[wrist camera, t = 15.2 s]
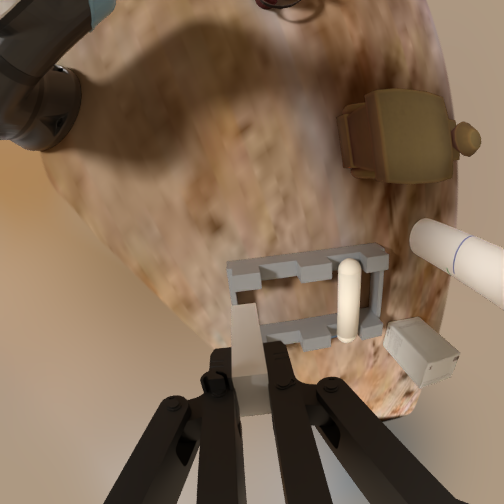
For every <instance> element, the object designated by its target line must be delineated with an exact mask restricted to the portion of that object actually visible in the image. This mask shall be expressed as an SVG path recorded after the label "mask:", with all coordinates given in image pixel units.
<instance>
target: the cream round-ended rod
mask: <svg viewBox="0 0 504 504" xmlns="http://www.w3.org/2000/svg"><path fill="white" fill-rule="evenodd" d="M360 292H361V266H360V264H359V262H358V261H357V260H355V259H352V258H347V259H345V260H343V261H342V262H341V263H340V265H339V267H338V311H337V337H338V339H339V340H340V341H341V342H343V343H350V342H352V341H354V340H355V339H356V337H357V334H358V323H359V309H360Z"/></svg>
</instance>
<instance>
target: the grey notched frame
mask: <svg viewBox="0 0 504 504" xmlns="http://www.w3.org/2000/svg"><path fill="white" fill-rule="evenodd" d="M347 258H352V259H355V260H357V261H358V262H359V264H360V266H361V269H362V270H364V271H365V272H366V273H371V279H370V296H369V307H366V308H361V309H359V323H358V335H359V337H360V338H361V340H365V339H369V338H374V337H378V336H382V329H383V323H382V322H381V321H380V312H381V302H382V291H383V277H384V270H388V266H389V254H388V253H386V252H385V248H383V247H382V246H380V245H379V244H377V243H370V244H363V245H355V246H347V247H339V248H332V249H324V250H316V251H308V252H300V253H292V254H285V255H277V256H269V257H261V258H252V259H244V260H236V261H228V262H227V276H228V283H229V289H230V296H231V302H232V306H233V305H238V299H237V292H239V291H248V290H256V289H262V286H261V281H262V280H270V279H277V278H285V277H292V276H297V277H298V278H299V280H300V282H301V283H307V282H314V281H321V280H327V279H332V271H335V270H338V267H339V265H340V263H341V262H342V261H343V260H345V259H347ZM260 331H261V337H262V343H266V342H273V341H282V342H283V343H284V344H291V343H297V342H300V344H301V346H302V349H303V352H306V351H312V350H317V349H322V348H328V347H331V338H335V337H337V313H335V314H329V315H324V316H318V317H312V318H306V319H299V320H293V321H286V322H279V323H272V324H265V325H260Z"/></svg>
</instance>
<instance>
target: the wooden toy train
mask: <svg viewBox="0 0 504 504" xmlns="http://www.w3.org/2000/svg"><path fill="white" fill-rule="evenodd" d="M364 97H365V102H364V103H355V104H350V105H347V106H346V107H345V108H344V109H343V112H342V113H343V115H341V116H339V117H336V118H337V124H338V131H339V138H340V145H341V153H342V161H343V168H351V174H352V175H353V176H354V177H355V178H371V179H376V181H381V182H387V183H399V184H420V183H434V182H440V181H444V180H447V179H451V178H452V176H453V161H454V160H459V156H460V153H461V154H462V155H464V156H468V157H470V156H471V155H473V154H474V153H475V152H476V151H477V150H478V148H479V147H480V144H481V137H480V134H479V132H478V131H477V130H476V129H475V128H473V127H472V126H471V125H470V124H469V123H466V122H461V123H459V124H458V125H457V126H456V122H455V120H450V119H449V118H448V114H447V110H446V107H445V103H444V99H443V97H441V96H438V95H435V94H432V93H429V92H425V91H417V90H409V89H399V88H394V89H382V90H375V91H372V92H370V93H368V94H366V95H364Z"/></svg>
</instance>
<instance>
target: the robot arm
mask: <svg viewBox="0 0 504 504" xmlns="http://www.w3.org/2000/svg"><path fill="white" fill-rule="evenodd" d="M115 5H116V0H0V140H11V141H12V142H14V143H16V144H17V145H19V146H21V147H22V148H24V149H27V150H32V151H41V150H46V149H49V148H51V147H53V146H55V145H56V144H57V143H59V142H60V141H61V140H62V139H63V138H64V137H65V136H66V134H67V133H68V132H69V130H70V129H71V127H72V125H73V124H74V122H75V119H76V117H77V114H78V111H79V108H80V103H81V87H80V82H79V80H78V78H77V76H76V75H75V73H74V72H72V71H71V70H70V69H68V68H65V67H63V66H61V65H55V64H56V63H57V62H58V60H59V59H60V58H61V57H62V56H63V55H64V54H65V53H67V52H68V51H69V50H70V49H71V48H72V47H73V46H74V45H75V44H76V43H77V42H78V41H79V40H80V39H82V38H83V37H84V36H85V35H86V34H87V33H88V32H92V31H93V30H94V28H95V27H96V26H97V25H98V24H99V23H100V22H101V21H102V20H104V19H105V18H106V17H107V16H108V15H110V14H111V12H112V11H113V10H114V8H115ZM200 381H201V385H202V388H203V391H204V394H202V395H201V396H199V397H197V398H194V399H190V400H186V399H185V398H184V397H182V396H170V397H167V398H166V399H164V400H163V401H162V402H161V403H160V405H159V407H158V409H157V411H156V412H155V414H154V416H153V417H152V419H151V421H150V423H149V424H148V426H147V428H146V430H145V431H144V433H143V435H142V437H141V438H140V440H139V442H138V444H137V445H136V447H135V449H134V451H133V452H132V454H131V456H130V458H129V459H128V461H127V463H126V465H125V466H124V468H123V470H122V472H121V474H120V475H119V477H118V479H117V481H116V482H115V484H114V486H113V488H112V489H111V491H110V493H109V495H108V496H107V498H106V500H105V502H104V503H103V504H177V501H178V499H179V496H180V494H181V491H182V488H183V486H184V484H185V481H186V479H187V476H188V474H189V471H190V469H191V466H192V464H193V461H194V459H195V456H196V453H197V451H198V448H199V446H200V452H199V467H198V484H197V504H247V500H246V488H245V487H246V486H245V473H244V457H243V441H242V426H241V421H240V417H244V416H253V415H262V414H270V413H271V414H272V422H273V430H274V435H275V441H276V447H277V453H278V460H279V466H280V472H281V478H282V484H283V491H284V496H285V503H286V504H333V503H332V499H331V495H330V492H329V488H328V485H327V481H326V477H325V474H324V470H323V467H322V463H321V459H320V456H319V452H318V449H317V446H316V442H315V438H314V435H313V431H312V428H311V425H315V427H316V429H317V430H318V432H319V433H320V434H321V436H322V437H323V439H324V440H325V442H326V443H327V445H328V446H329V447H330V449H331V450H332V451H333V453H334V455H335V456H336V457H337V459H338V460H339V462H340V463H341V464H342V466H343V467H344V469H345V470H346V471H347V473H348V474H349V476H350V477H351V478H352V480H353V481H354V482H355V484H356V485H357V487H358V488H359V489H360V491H361V492H362V493H363V495H364V496H365V497H366V499H367V500H368V501H369V503H370V504H468V503H465V502H463V501H460V500H458V499H455V498H454V497H453V495H452V494H451V493H450V492H448V490H447V489H446V488H445V487H444V486H443V485H442V484H441V483H440V482H439V481H438V480H437V479H436V478H435V477H434V476H433V475H432V474H431V473H430V472H429V471H428V470H427V469H426V468H425V467H424V466H423V465H422V464H421V463H420V462H419V461H418V460H417V458H416V457H415V456H414V455H413V454H412V453H411V452H410V451H409V450H408V449H407V448H406V447H405V446H404V445H403V444H402V443H401V442H400V441H399V440H398V438H397V437H395V435H394V434H393V433H392V432H391V431H390V430H389V429H388V428H387V427H386V426H385V425H384V424H383V423H382V421H381V420H380V419H379V418H378V417H377V416H376V415H375V414H374V413H373V412H372V411H371V410H370V409H369V407H368V406H367V405H366V404H365V403H364V402H363V401H362V400H361V399H360V398H359V397H358V396H357V395H356V393H355V392H354V391H353V390H352V389H351V388H350V387H349V386H348V385H347V384H346V383H345V381H343V380H342V379H341V378H337V377H327V378H323V379H322V380H320V381H319V382H318V383H317V385H316V384H305V383H302V382H300V381H298V380H297V379H296V378H295V375H294V372H293V369H292V365H291V362H290V358H289V355H288V351H287V348H286V345H285V344H284V343H283V342H282V341H273V342H266V343H262V337H261V331H260V325H259V320H258V314H257V308H256V303H250V304H241V305H233V306H231V347H229V348H219V349H214V351H213V352H212V354H211V356H210V368H209V371H208V372H206V373H205V374H204V375H203V376H202V377H201V379H200Z"/></svg>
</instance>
